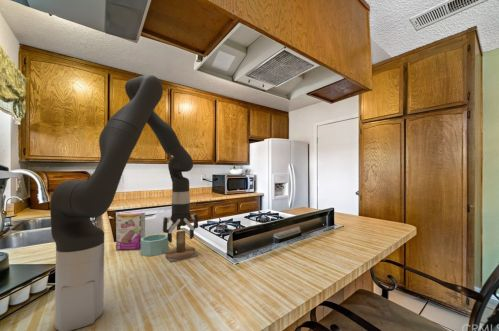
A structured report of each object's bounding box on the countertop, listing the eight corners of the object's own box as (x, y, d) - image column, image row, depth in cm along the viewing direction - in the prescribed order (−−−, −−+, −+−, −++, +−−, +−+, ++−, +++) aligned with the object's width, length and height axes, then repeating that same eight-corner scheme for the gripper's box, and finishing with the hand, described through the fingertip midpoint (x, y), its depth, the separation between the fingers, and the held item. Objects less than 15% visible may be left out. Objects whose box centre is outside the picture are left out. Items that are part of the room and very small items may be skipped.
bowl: (169, 252, 92) (169, 238, 93) (141, 258, 87) (141, 243, 87) (165, 245, 102) (165, 232, 102) (139, 249, 96) (140, 236, 96)
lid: (199, 255, 88) (198, 233, 88) (168, 261, 81) (168, 238, 82) (191, 246, 98) (190, 227, 98) (163, 251, 92) (163, 231, 92)
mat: (197, 256, 88) (197, 254, 88) (169, 262, 82) (169, 260, 82) (190, 248, 97) (190, 247, 97) (165, 253, 91) (165, 252, 91)
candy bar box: (115, 250, 96) (115, 214, 96) (121, 246, 101) (122, 212, 101) (140, 250, 96) (140, 213, 96) (145, 246, 101) (145, 211, 101)
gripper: (164, 204, 83) (164, 246, 83) (199, 201, 91) (200, 239, 90) (161, 202, 90) (161, 240, 89) (194, 199, 97) (195, 235, 97)
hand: (181, 240), depth 90 cm, fingers open, 8 cm apart
